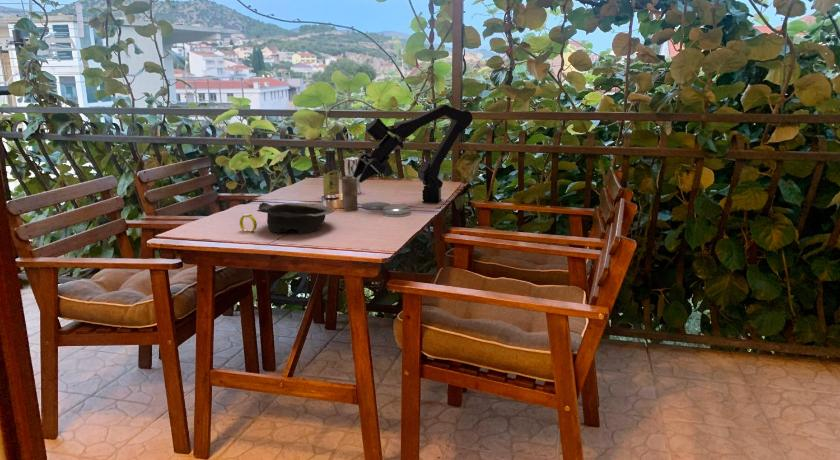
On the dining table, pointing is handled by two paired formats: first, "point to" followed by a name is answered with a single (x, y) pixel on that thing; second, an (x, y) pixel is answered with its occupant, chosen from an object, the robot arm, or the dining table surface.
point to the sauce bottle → (330, 174)
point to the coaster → (375, 206)
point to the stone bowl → (294, 216)
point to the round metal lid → (396, 210)
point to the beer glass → (352, 170)
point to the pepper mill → (349, 193)
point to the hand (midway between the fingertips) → (356, 179)
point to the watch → (250, 218)
